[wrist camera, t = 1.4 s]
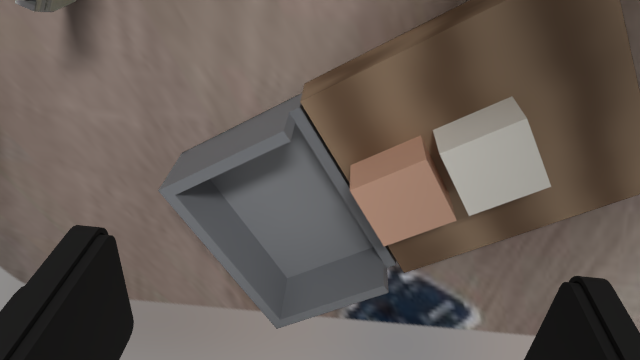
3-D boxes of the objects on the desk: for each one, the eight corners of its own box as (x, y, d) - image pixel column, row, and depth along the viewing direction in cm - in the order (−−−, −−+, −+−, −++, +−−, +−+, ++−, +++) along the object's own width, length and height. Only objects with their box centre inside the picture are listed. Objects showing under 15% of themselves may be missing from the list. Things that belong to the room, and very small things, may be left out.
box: (303, 92, 32) (295, 125, 28) (394, 244, 39) (398, 289, 35) (181, 153, 36) (158, 190, 32) (284, 283, 42) (276, 328, 38)
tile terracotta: (420, 135, 30) (426, 159, 28) (449, 193, 32) (456, 220, 30) (350, 165, 32) (349, 190, 29) (382, 218, 34) (383, 246, 32)
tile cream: (512, 96, 28) (526, 118, 26) (535, 160, 31) (551, 186, 28) (432, 130, 30) (439, 153, 27) (460, 189, 32) (469, 216, 30)
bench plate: (585, -59, 26) (608, -51, 24) (637, 163, 34) (660, 187, 31) (304, 83, 32) (300, 101, 30) (401, 247, 39) (404, 272, 37)
